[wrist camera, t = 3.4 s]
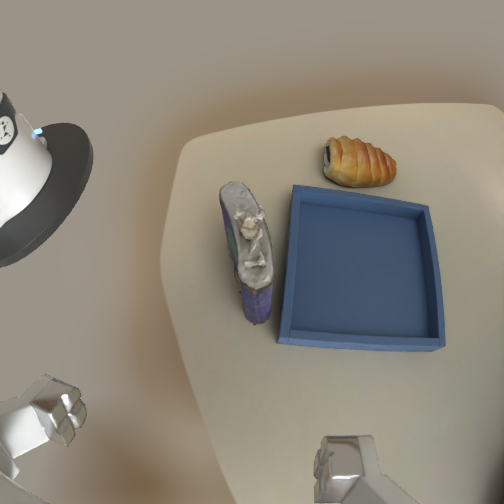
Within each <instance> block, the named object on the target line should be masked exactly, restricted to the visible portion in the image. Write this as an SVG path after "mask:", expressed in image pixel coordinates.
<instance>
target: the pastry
mask: <svg viewBox="0 0 504 504" xmlns="http://www.w3.org/2000/svg"><path fill="white" fill-rule="evenodd" d="M324 147H325V154H324V163H325V165H326V166H325V167H324V173H325V175H326V176H327V177H329V178H330V179H332V180H333V181H334V182H336V183H338V184H340V185H342V186H351V187H354V188H355V187H359V188H361V187H377V186H383V185H386V184H388V183H390V182H392V181H393V180H394V179H395V176H396V161H395V160H394V159H392V158H391V157H390V156H389V155H388V154H386V153H385V152H383V151H382V150H381V149H380V148H375V147H373V146H372V145H371V144H370V143H364V142H362V141H361V140H360V139H358V138H356V139H353V140H351V139H349V138H348V137H346V136H342V137H340V138H338V139H335V138H333V137H331V138H330V139H329V140H327V142H326V143H325V146H324Z"/></svg>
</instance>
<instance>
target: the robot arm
mask: <svg viewBox="0 0 504 504" xmlns="http://www.w3.org/2000/svg"><path fill="white" fill-rule="evenodd" d="M15 113H16V112H15V109H14V107H13V105H12V102H11V100H10V99H9V98H8V97H7V95H6V94H5V93H2V92H1V90H0V228H1V227H2V226H3V224H4V223H5V222H7V221H8V220H9V219H11V218H12V217H14V216H15V215H17V214H18V213H20V212H21V211H22V210H23V209H24V208H25V207H26V206H27V205H28V204H29V203H30V202H31V201H32V200H33V199H34V198H35V197H36V195H37V194H38V193H39V191H40V190H41V189H42V187H43V185H44V184H45V182H46V180H47V178H48V176H49V174H50V171H51V167H52V156H51V154H50V153H49V151H48V150H47V140H46V139H45V138H44V137H40V138H39V137H38V135H37V134H39V133H42V130H41V128H40V129H37V130H33V129H32V127H31V126H30V125H29V123H28V122H27V121H26V119H25V118H24V117H23V115H22V114H15ZM80 397H81V393H80V390H79V389H78V388H76V387H74V386H71V385H69V384H67V383H64V382H62V381H60V380H58V379H56V378H53V377H51V376H49V375H46V374H45V375H41V376H40V377H39V378H38V379H37V380H36V381H35V382H34V383H33V384H32V385H31V386H30V388H29V389H28V390H27V391H26V392H25V393H24V394H23V395H22V396H21V397H20V398H18V397H15V398H11V399H8V400H5V401H2V402H0V504H49V503H47V502H45V501H43V500H42V499H40V498H39V497H37V496H35V495H33V494H32V493H31V492H29V491H27V490H26V489H25V488H23V487H22V486H20V485H19V484H17V483H16V482H14V481H13V480H14V478H15V477H16V475H17V474H18V472H19V471H20V469H19V466H18V465H17V464H16V462H15V461H14V460H13V458H15V457H17V456H19V455H21V454H23V453H25V452H27V451H29V450H31V449H33V448H35V447H37V446H39V445H41V444H43V443H45V442H46V441H49V439H51V440H53V441H55V442H57V443H59V444H61V445H63V446H66V447H68V446H69V444H70V442H71V441H72V440H73V438H74V437H75V430H76V429H78V428H80V427H82V425H83V424H84V422H85V419H86V415H87V414H86V407H85V404H84V403H83V402H82V401H81V399H80ZM314 477H315V478H316V479H317V482H316V484H315V486H314V503H341V504H419V503H418V502H417V501H415V500H414V499H413V498H412V497H411V496H410V495H408V494H407V493H406V492H405V491H404V490H403V489H402V488H400V487H399V486H398V485H397V484H396V483H395V482H394V481H393V480H391V479H390V478H389V477H388V476H387V475H382V474H381V470H380V465H379V461H378V456H377V452H376V448H375V443H374V439H373V437H372V436H371V435H362V436H355V435H350V436H324V437H323V439H322V441H321V449H319V450H318V451H317V453H316V456H315V461H314Z"/></svg>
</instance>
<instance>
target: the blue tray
mask: <svg viewBox="0 0 504 504" xmlns="http://www.w3.org/2000/svg"><path fill="white" fill-rule="evenodd" d="M277 343H281V344H290V345H301V346H312V347H324V348H338V349H354V350H375V351H416V352H432V351H434V350H437V349H439V348H442V347H444V346H445V322H444V307H443V296H442V286H441V277H440V269H439V262H438V255H437V249H436V243H435V237H434V232H433V226H432V221H431V216H430V212H429V207H428V206H426V205H421V204H416V203H411V202H406V201H400V200H395V199H389V198H383V197H377V196H371V195H365V194H359V193H353V192H346V191H339V190H332V189H325V188H318V187H310V186H302V185H293V190H292V197H291V207H290V219H289V231H288V242H287V253H286V264H285V274H284V284H283V294H282V303H281V312H280V321H279V330H278V339H277Z"/></svg>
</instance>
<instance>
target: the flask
mask: <svg viewBox="0 0 504 504" xmlns="http://www.w3.org/2000/svg"><path fill="white" fill-rule="evenodd" d="M219 199H220V204H221V208H222V214H223V220H224V225H225V231H226V237H227V247H228V250H229V256H230V259H232V260H233V264H234V268H235V270H234V273H235V278H236V281H237V283H238V282H239V285H240V288H241V291H240V292H239V293H241V296H242V301H243V304H242V305H243V308H244V313H245V317H246V319H247V320H249V321H250V322H252V323H253V324H254V326H255V325H256V324H261V323H265V322H266V321H267V320H268V319H269V317H270V315H271V297H272V290H273V282H274V276H275V274H274V260H273V252H272V244H271V239H270V235H269V232H268V228H267V226H266V223H265V220H264V215H265V211H264V210H263V209H260V208H261V206H260V205H258V204H257V202H256V200H255V198H254V196H253V195H252V193H251V192H250V190H249V188H247V186H246V185H245V184H243V183H240V182H229V183H228V184H225V185H224V186H223V187H222V188H221V189H220V193H219Z"/></svg>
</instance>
